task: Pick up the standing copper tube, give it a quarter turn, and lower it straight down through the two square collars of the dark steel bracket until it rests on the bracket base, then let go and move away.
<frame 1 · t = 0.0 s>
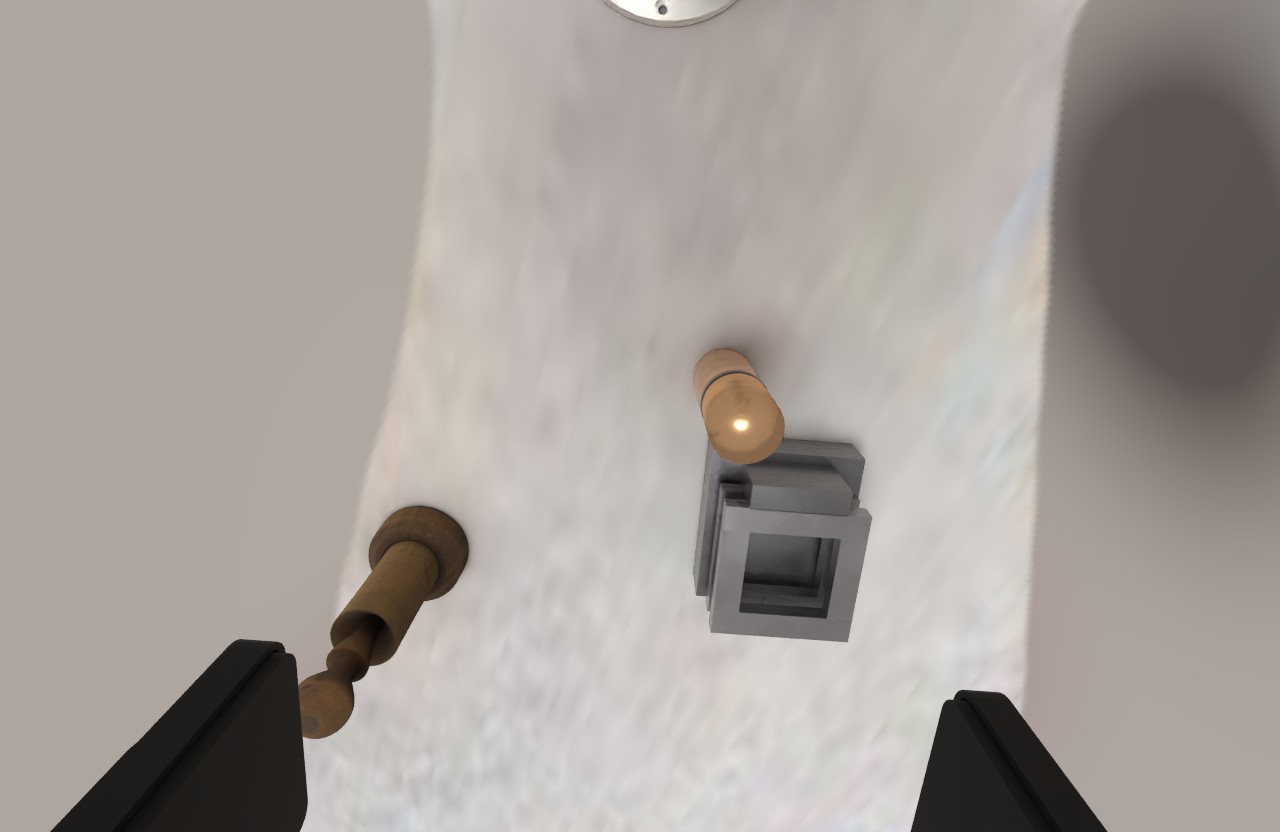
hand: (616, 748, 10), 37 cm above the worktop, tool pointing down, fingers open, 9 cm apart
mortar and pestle: (425, 544, 50), on the worktop
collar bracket: (770, 510, 49), on the worktop
copper tube: (722, 377, 46), on the worktop
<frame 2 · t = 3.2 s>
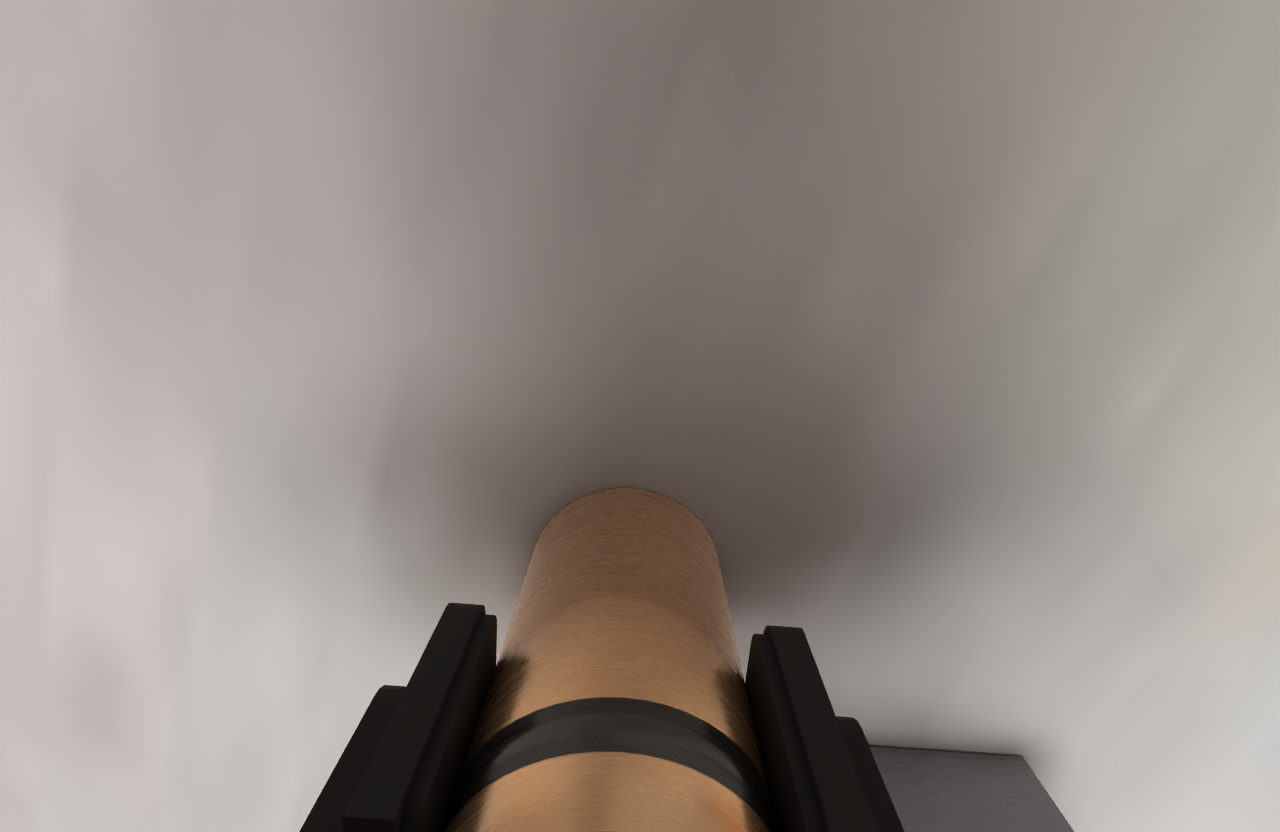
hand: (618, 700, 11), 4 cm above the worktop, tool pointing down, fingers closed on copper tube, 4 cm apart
copper tube: (625, 574, 14), on the worktop, touching gripper
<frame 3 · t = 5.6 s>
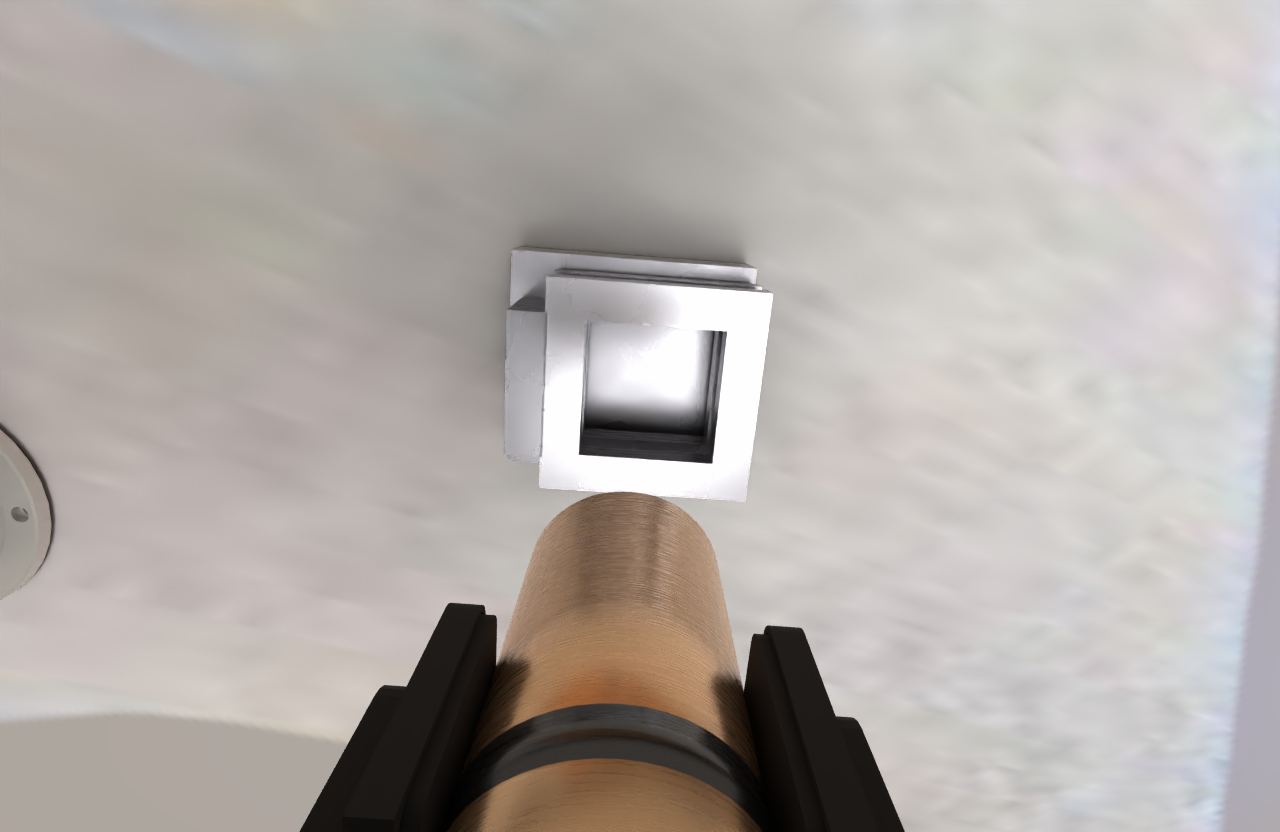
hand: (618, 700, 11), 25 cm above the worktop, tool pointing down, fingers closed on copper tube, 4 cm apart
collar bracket: (627, 355, 34), on the worktop
copper tube: (623, 578, 14), point 21 cm above the worktop, touching gripper
when the fingers open (9 cm above the worktop, at t = 8.3 s): copper tube drops 2 cm, resting on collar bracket.
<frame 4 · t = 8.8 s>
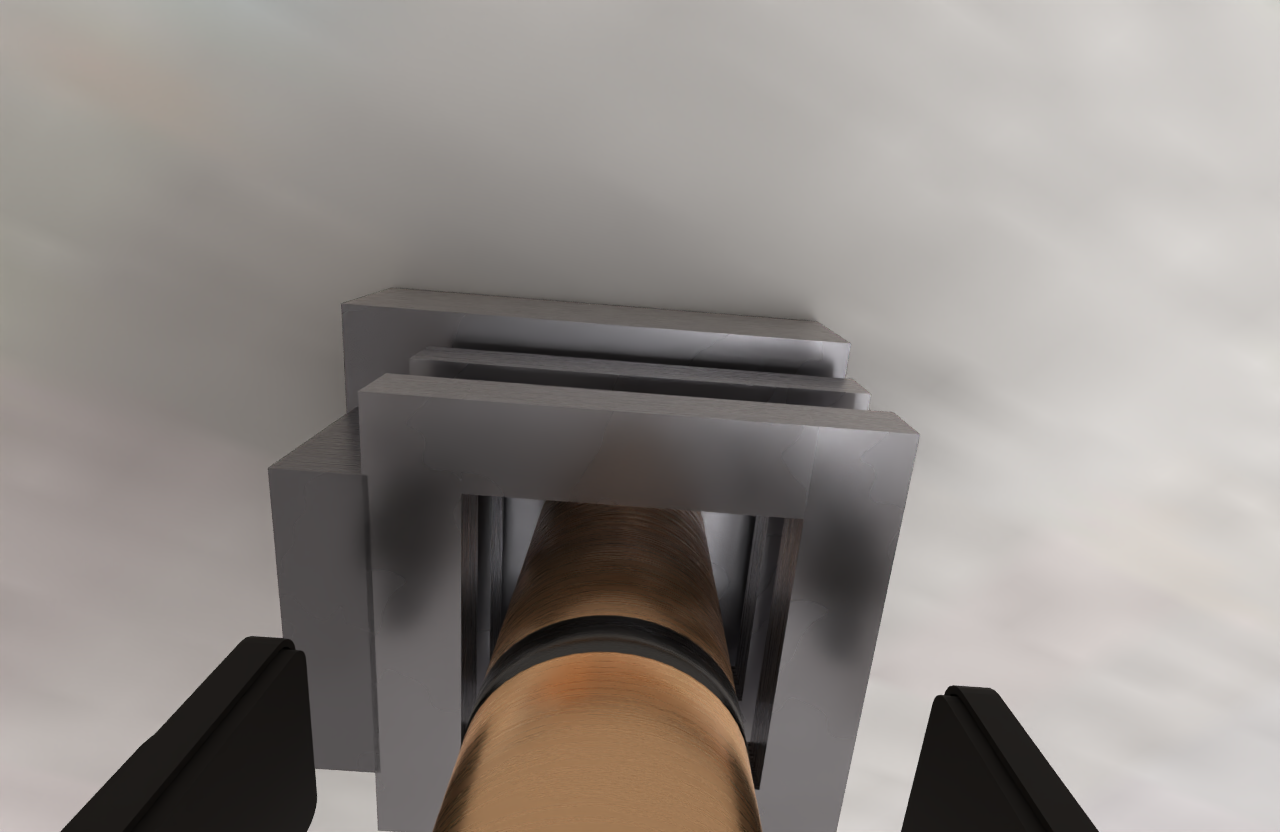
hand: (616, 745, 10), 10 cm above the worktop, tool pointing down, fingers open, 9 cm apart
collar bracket: (594, 483, 19), on the worktop
copper tube: (620, 539, 16), point 3 cm above the worktop, touching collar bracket
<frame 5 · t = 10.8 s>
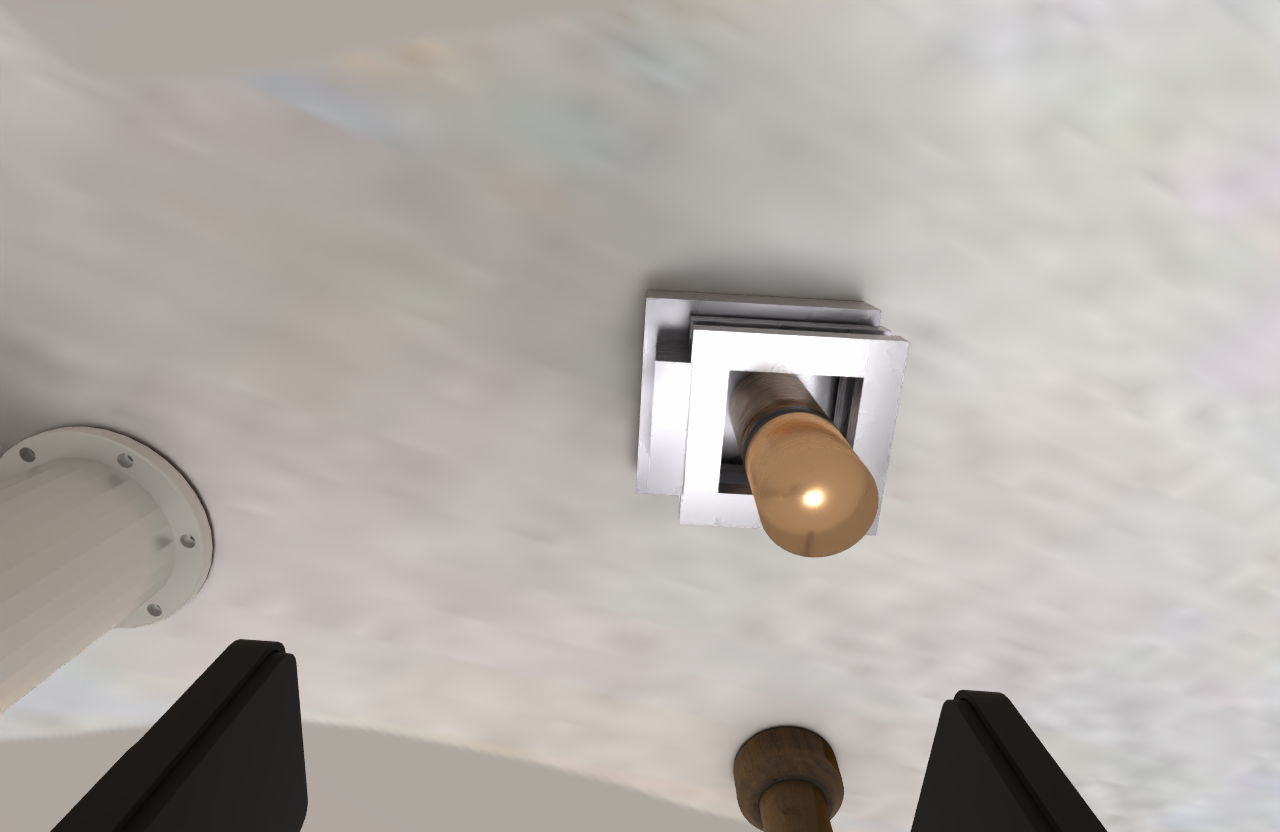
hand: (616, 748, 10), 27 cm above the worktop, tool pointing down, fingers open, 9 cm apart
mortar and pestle: (783, 764, 44), on the worktop
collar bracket: (745, 389, 36), on the worktop
copper tube: (769, 408, 33), point 3 cm above the worktop, touching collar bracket
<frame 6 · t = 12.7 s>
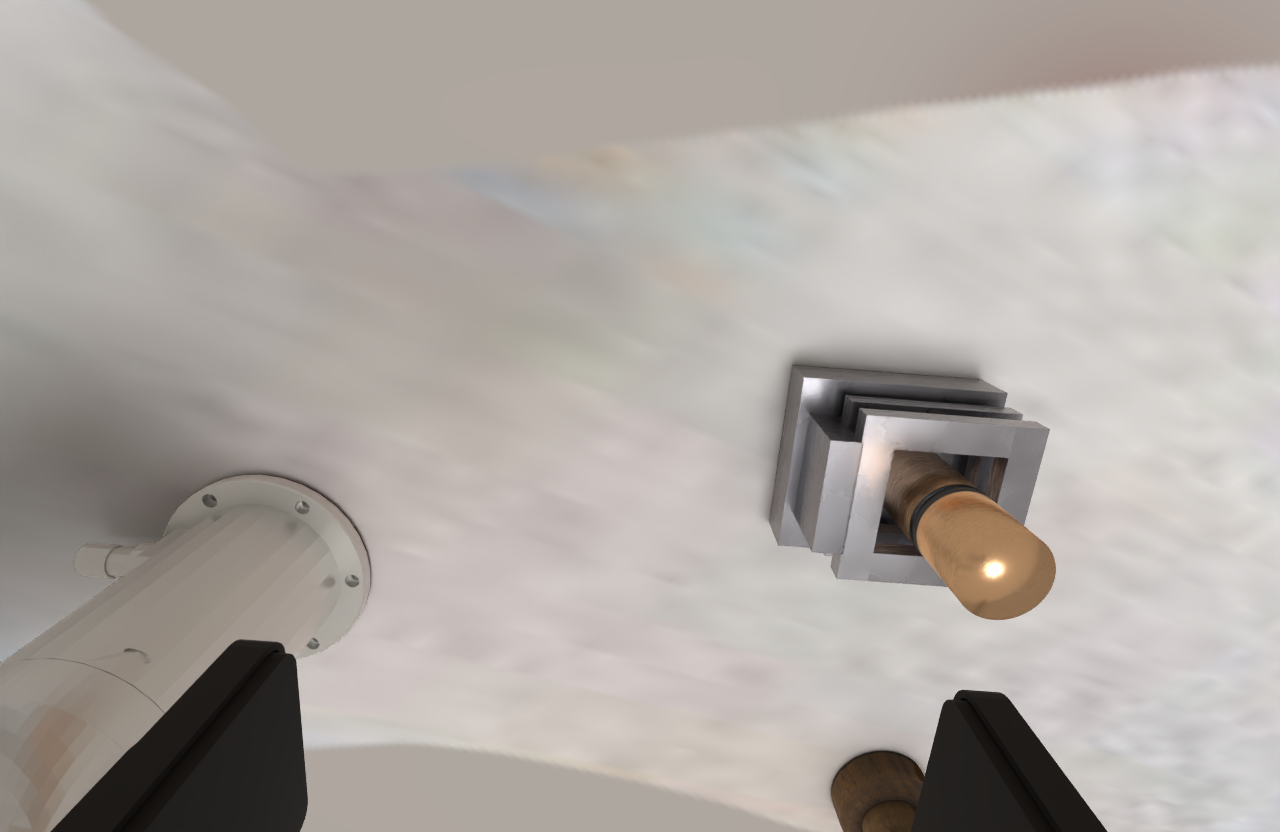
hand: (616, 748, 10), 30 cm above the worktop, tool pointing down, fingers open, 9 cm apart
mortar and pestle: (876, 785, 48), on the worktop
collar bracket: (871, 453, 41), on the worktop
copper tube: (903, 474, 38), point 3 cm above the worktop, touching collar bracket
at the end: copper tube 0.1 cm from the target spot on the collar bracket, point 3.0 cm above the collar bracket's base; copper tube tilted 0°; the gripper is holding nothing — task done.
